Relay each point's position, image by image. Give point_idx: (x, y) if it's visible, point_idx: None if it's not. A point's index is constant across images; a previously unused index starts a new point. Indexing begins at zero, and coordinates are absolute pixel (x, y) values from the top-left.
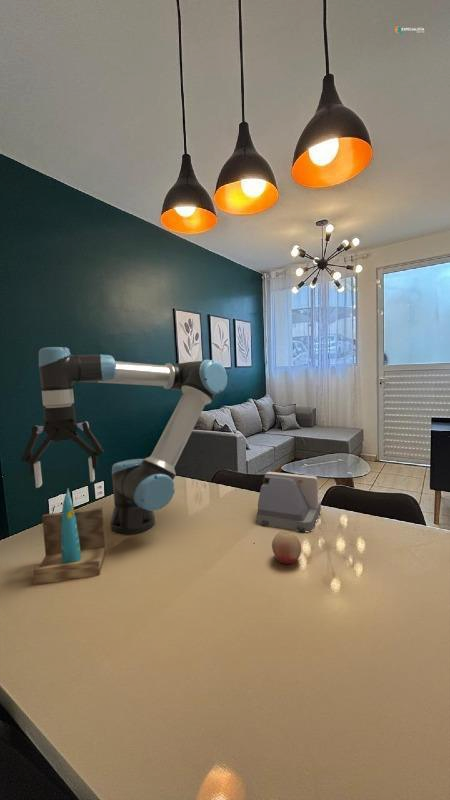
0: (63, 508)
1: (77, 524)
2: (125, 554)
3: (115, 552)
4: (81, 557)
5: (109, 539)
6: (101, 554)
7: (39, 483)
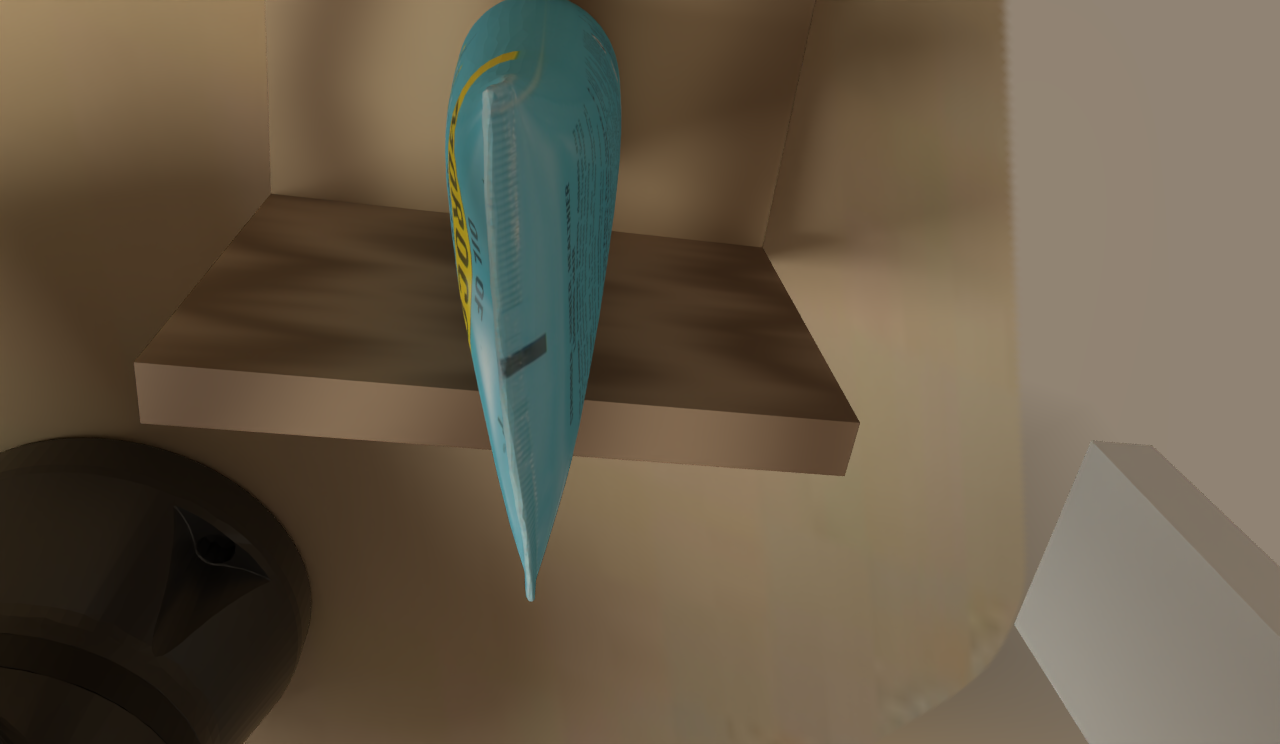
0: (564, 93)
1: None
2: (99, 117)
3: (203, 189)
4: None
5: None
6: (274, 63)
7: (1118, 531)
